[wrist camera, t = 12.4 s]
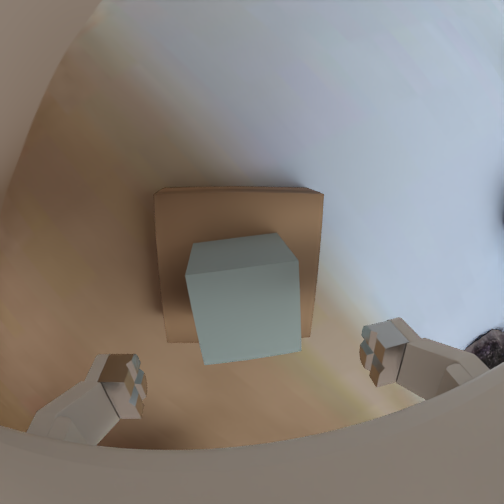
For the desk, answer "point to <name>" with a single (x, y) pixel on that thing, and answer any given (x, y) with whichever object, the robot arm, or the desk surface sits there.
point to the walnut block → (232, 226)
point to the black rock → (489, 348)
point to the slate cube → (244, 298)
